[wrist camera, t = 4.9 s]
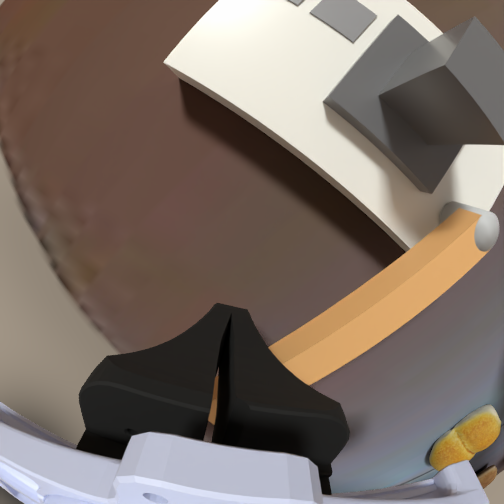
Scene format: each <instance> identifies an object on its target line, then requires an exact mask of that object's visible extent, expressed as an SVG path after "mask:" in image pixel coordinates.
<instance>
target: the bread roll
mask: <svg viewBox="0 0 504 504" xmlns="http://www.w3.org/2000/svg"><path fill="white" fill-rule="evenodd" d="M500 428H501V420H500V419H499V417H498V414H497V412H496V411H495V409H494V407H492V405H489V404H488V405H484V406H482V407H480V408H478V409H476V410H475V411H473V412H471V413H469V414H468V415H467V416H466V417H464V418H463V419H462V420H461V421H460V422H458V423H457V424H456V425H455V427H454V428H453V429H452V430H449V431H447V432H446V433H444V434H443V435H442V436H441V437H440V438H439V439H438V440H437V441H436V442H435V444H434V446H433V448H432V451H431V454H430V457H429V461H430V464H431V465H432V466H433V467H434V468H435V469H436V470H438V471H440V470H442V469H443V468H444V467H446V466H448V465H450V464H454V463H457V462H460V461H464V460H468V461H469V460H470V459H471V458H472V457H473V456H474V455H475V453H476V452H479V451H482V450H484V449H486V448H487V447H489V446H490V445H491V444H492V443H493V442H494V441H495V440H496V439H497V437H498V436H499V433H500Z"/></svg>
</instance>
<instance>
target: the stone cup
mask: <svg viewBox="0 0 504 504" xmlns="http://www.w3.org/2000/svg"><path fill="white" fill-rule="evenodd" d="M496 474H497V468H496V466H495V465H492V466H490V467H488V468H486V469H485V470H483V471H481V472H480V473H478V474H477V475H476V476H477V478H478V480H479V482H480V484H481V486H482V488H483V489H484V488H485V487H486V486H487V485H489V484H490V483H491V482H492V481H493V480H494V479H495V477H496Z"/></svg>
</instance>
